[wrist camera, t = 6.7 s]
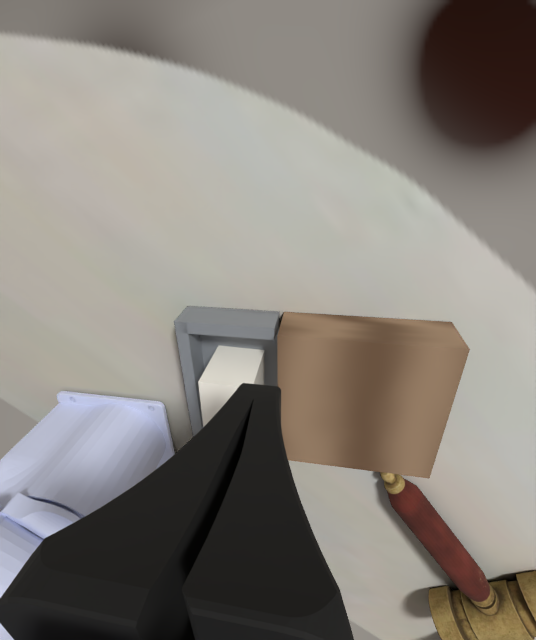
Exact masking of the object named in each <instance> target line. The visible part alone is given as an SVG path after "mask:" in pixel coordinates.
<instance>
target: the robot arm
mask: <svg viewBox="0 0 536 640" xmlns="http://www.w3.org/2000/svg"><path fill="white" fill-rule="evenodd" d="M57 399H58V402H59V404H58V405H57V406H56V407H54V408H53V409H52V410H51V411H50V412H49V413H48V414H47V415H46V416H45V417H44V418H43V419H42V420H41V421H40V422H39V423H38V424H37V425H36V426H35V427H34V428H33V429H32V430H31V431H30V432H28V433H27V434H26V435H25V436H24V437H23V438H22V439H21V440H20V441H19V442H18V443H17V444H16V445H15V446H14V447H13V448H12V449H11V450H10V451H9V452H8V453H7V454H6V455H5V456H4V457H3V458H2V459H1V460H0V640H354V639H353V635H352V631H351V627H350V624H349V620H348V616H347V613H346V610H345V607H344V603H343V600H342V596H341V593H340V589H339V587H338V585H337V583H336V581H335V579H334V577H333V575H332V573H331V571H330V569H329V567H328V565H327V563H326V561H325V559H324V556H323V554H322V552H321V550H320V548H319V545H318V543H317V541H316V539H315V536H314V534H313V532H312V529H311V527H310V524H309V521H308V519H307V516H306V514H305V511H304V509H303V506H302V504H301V501H300V498H299V495H298V492H297V489H296V486H295V483H294V480H293V477H292V473H291V470H290V466H289V462H288V459H287V454H286V450H285V446H284V441H283V435H282V429H281V389H280V388H279V387H278V386H270V385H260V384H249V383H242V384H241V385H240V386H239V387H238V388H237V390H236V391H235V392H234V393H233V395H232V396H231V397H230V398H229V400H228V401H227V402H226V403H225V404H224V405H223V407H222V408H221V409H220V410H219V411H218V412H217V413H216V414H215V415H214V416H213V418H212V419H211V420H210V421H209V422H208V423H207V424H206V425H205V426H204V427H203V428H202V429H201V430H200V431H199V432H198V433H197V434H196V435H195V436H194V437H193V438H192V439H191V440H190V441H189V442H188V443H187V444H186V445H185V446H183V447H182V448H181V449H180V450H179V451H178V452H177V453H176V454H175V452H174V447H173V442H172V438H171V433H170V428H169V423H168V418H167V414H166V409H165V405H164V404H163V403H162V402H159V401H151V400H142V399H133V398H123V397H114V396H105V395H96V394H87V393H77V392H68V391H60V392H59V393H58V394H57ZM152 406H153V407H152Z"/></svg>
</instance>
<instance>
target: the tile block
mask: <svg viewBox="0 0 536 640" xmlns="http://www.w3.org/2000/svg"><path fill="white" fill-rule="evenodd" d="M242 383H249V384H260V385H264V350H259V349H249V348H239V347H229V346H219V345H218V347H217V349H216V351H215V353H214V354H213V356H212V358H211V360H210V362H209V363H208V365H207V367H206V369H205V371H204V372H203V374H202V376H201V378H200V380H199V381H198V384H199V393H200V402H201V411H202V420H203V427H204V426H205V425H206V424H207V423H208V422H209V421H210V420H211V419H212V418H213V416H214V415H215V414H216V413H217V412H218V411H219V410H220V409H221V408H222V407H223V405H224V404H225V403H226V402H227V401H228V400H229V398H230V397H231V396H232V395H233V393H234V392H235V391H236V390H237V388H238V387H239V386H240V385H241V384H242Z"/></svg>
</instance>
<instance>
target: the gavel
mask: <svg viewBox="0 0 536 640" xmlns="http://www.w3.org/2000/svg"><path fill="white" fill-rule="evenodd" d="M380 475H381V478H382V479H383V480H384V486H385V489H386V490H387V492H388V496H389V499H390V502H391V505H392V507H393V508H394V510H395V511H396V512H397V513H398V514H399V516H400V517H401V518H402V519H403V521H404V522H405V523H406V524H407V526H408V527H409V528H410V529H411V531H412V532H413V533H414V534H415V535H416V537H417V538H418V539H419V540H420V542H421V543H422V544H423V545H424V547H425V548H426V549H427V550H428V551H429V553H430V554H431V555H432V556H433V558H434V559H435V560H436V561H437V563H438V564H439V565H440V566H441V568H442V569H443V570H444V571H445V572H446V574H447V575H448V576H449V577H450V579H451V580H452V581H453V582H454V584H455V585H456V586H457V587H458V588H459V590H454V591H453V590H452V589H451V588H450V587H449V586H442V587H436V588H430V590H429V597H428V598H429V606H430V611H431V615H432V618H433V621H434V624H435V627H436V629H437V632H438V634H439V636H440V638H441V640H534V637H536V571H530V572H525V573H519V574H516V576H517V580H515V581H509V582H508V581H507V580H501V581H495V582H489V583H488V581H487V579H486V577H485V575H484V573H483V571H482V570H481V569H480V567H479V566H478V565H477V563H476V562H475V561H474V559H473V558H472V557H471V556H470V554H469V553H468V552H467V550H466V549H465V548H464V546H463V545H462V544H461V543H460V541H459V540H458V539H457V537H456V536H455V535H454V533H453V532H452V531H451V530H450V528H449V527H448V526H447V524H446V523H445V522H444V521H443V519H442V518H441V517H440V515H439V514H438V513H437V511H436V510H435V509H434V508H433V506H432V505H431V504H430V502H429V501H428V500H427V498H426V497H425V496H424V495H423V493H422V492H421V491H420V489H419V488H418V487H417V486H416V485H414V484H413V483H411V482H409V481H407V480H406V479H404V478H402V476H401V475H399V474H392V473H384V472H380Z"/></svg>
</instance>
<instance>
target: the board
mask: <svg viewBox="0 0 536 640" xmlns="http://www.w3.org/2000/svg"><path fill="white" fill-rule="evenodd" d="M469 350H470V349H469V348H468V346H467V345H466V343H465V342H464V340H463V339H462V337H461V336H460V334H459V332H458V331H457V329H456V328H455V326H454V325H453V323H452V322H441V321H425V320H408V319H392V318H375V317H359V316H343V315H326V314H310V313H294V312H284V314H283V318H282V321H281V325H280V328H279V332H278V335H277V365H278V387H279V388H280V389H281V429H282V435H283V441H284V446H285V450H286V454H287V459H288V460H291V461H299V462H307V463H314V464H322V465H330V466H338V467H345V468H353V469H361V470H369V471H376V472H384V473H392V474H399V475H407V476H415V477H423V478H430V474H431V471H432V468H433V465H434V462H435V458H436V455H437V452H438V449H439V446H440V443H441V439H442V436H443V433H444V430H445V427H446V423H447V420H448V417H449V414H450V411H451V407H452V404H453V401H454V398H455V395H456V392H457V388H458V385H459V382H460V379H461V376H462V372H463V369H464V366H465V363H466V360H467V356H468V353H469Z"/></svg>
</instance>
